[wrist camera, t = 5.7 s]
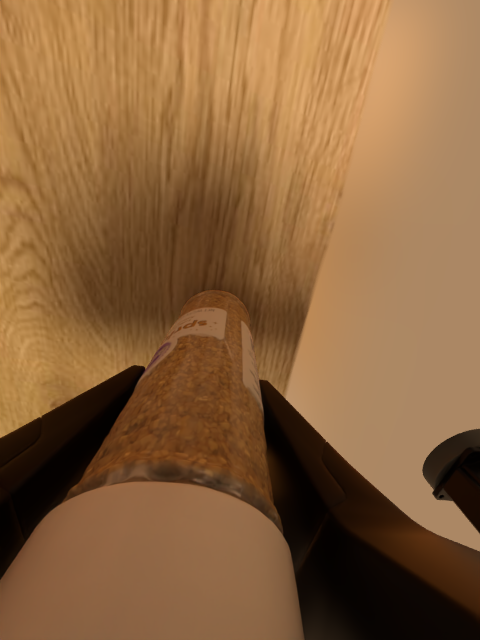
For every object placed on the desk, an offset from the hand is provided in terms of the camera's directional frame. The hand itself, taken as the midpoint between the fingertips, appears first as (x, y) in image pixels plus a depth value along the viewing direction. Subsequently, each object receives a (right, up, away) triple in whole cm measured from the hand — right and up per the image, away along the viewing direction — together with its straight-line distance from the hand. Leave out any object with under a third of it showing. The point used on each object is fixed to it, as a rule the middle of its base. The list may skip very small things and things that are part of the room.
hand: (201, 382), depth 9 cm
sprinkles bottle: (0, +2, +6) cm, 7 cm away
